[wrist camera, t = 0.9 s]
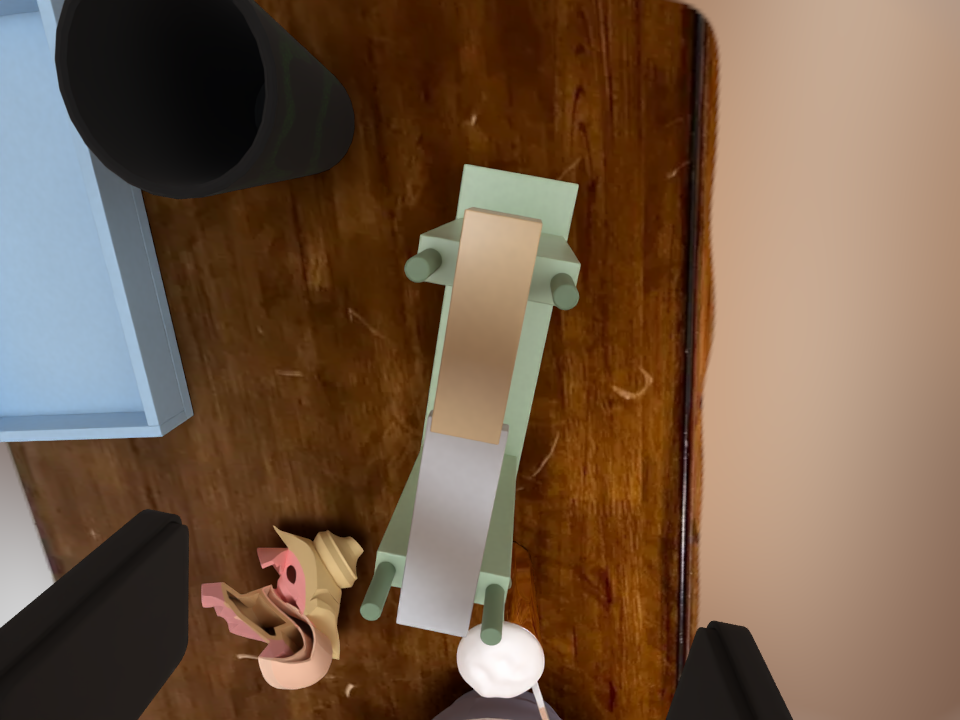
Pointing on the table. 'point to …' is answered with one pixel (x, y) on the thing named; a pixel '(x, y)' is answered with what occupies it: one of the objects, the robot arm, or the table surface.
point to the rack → (547, 290)
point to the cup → (197, 95)
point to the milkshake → (507, 641)
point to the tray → (73, 267)
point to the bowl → (495, 708)
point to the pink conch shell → (293, 606)
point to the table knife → (468, 421)
